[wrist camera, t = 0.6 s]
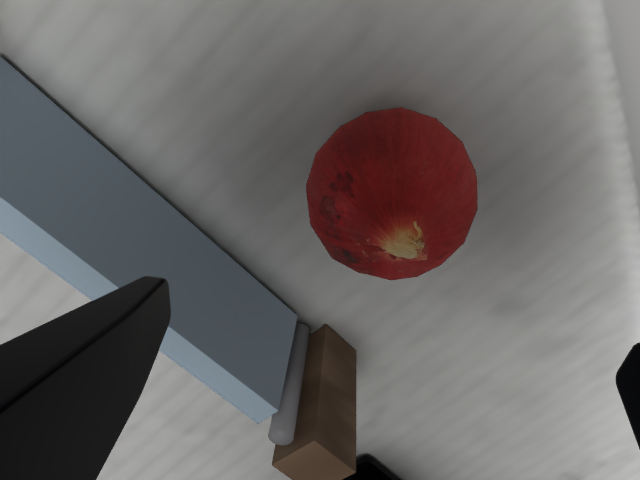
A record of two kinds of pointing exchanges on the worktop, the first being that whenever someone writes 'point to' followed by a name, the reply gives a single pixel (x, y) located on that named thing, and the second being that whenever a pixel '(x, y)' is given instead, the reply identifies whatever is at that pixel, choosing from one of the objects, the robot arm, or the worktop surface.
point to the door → (144, 256)
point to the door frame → (323, 413)
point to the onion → (392, 194)
